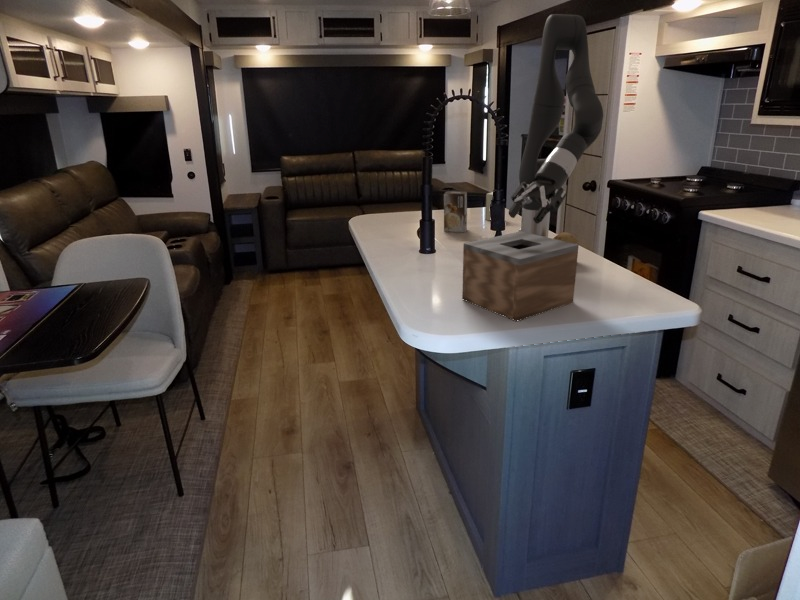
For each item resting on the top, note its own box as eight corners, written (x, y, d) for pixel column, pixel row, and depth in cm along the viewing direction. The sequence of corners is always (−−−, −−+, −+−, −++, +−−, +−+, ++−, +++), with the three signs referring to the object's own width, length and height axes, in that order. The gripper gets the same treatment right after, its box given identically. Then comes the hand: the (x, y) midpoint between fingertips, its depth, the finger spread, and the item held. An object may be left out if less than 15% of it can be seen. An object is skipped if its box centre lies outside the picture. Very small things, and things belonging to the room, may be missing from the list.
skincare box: (491, 217, 252) (492, 191, 248) (500, 218, 250) (501, 192, 246) (484, 220, 248) (485, 193, 244) (493, 221, 245) (494, 194, 241)
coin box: (462, 299, 149) (463, 243, 143) (517, 284, 161) (520, 231, 155) (516, 321, 133) (520, 259, 128) (572, 302, 145) (578, 244, 140)
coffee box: (467, 229, 231) (468, 191, 225) (464, 232, 225) (465, 194, 219) (446, 228, 233) (446, 191, 228) (443, 231, 228) (443, 193, 222)
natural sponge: (554, 256, 188) (556, 228, 185) (580, 259, 184) (583, 231, 180) (546, 263, 181) (548, 233, 177) (573, 266, 176) (576, 236, 173)
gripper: (529, 158, 145) (496, 205, 143) (572, 162, 134) (538, 214, 132) (540, 176, 150) (509, 222, 148) (583, 182, 139) (550, 232, 137)
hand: (522, 218), depth 140 cm, fingers open, 8 cm apart
